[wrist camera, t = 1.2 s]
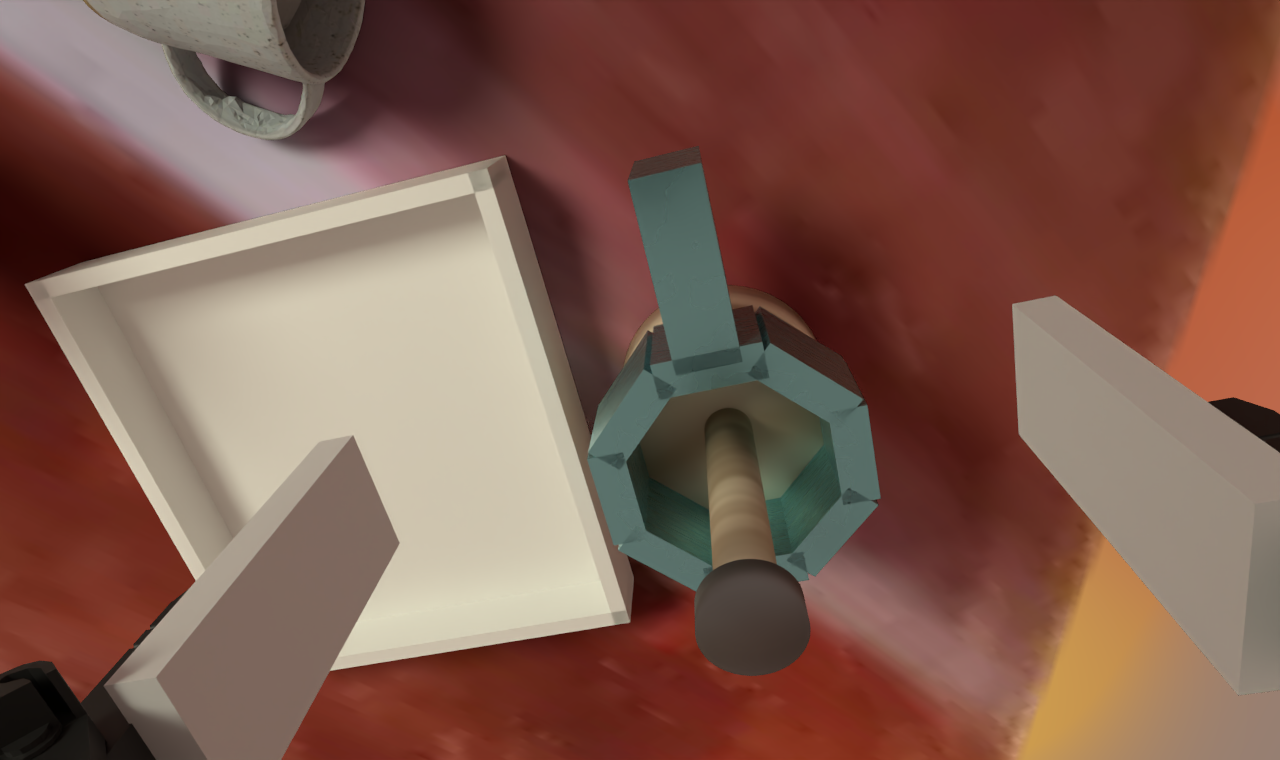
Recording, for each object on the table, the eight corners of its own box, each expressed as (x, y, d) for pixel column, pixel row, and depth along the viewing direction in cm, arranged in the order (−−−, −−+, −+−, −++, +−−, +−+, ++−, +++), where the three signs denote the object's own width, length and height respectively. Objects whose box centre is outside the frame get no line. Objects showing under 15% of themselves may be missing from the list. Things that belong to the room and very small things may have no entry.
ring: (868, 509, 34) (890, 566, 31) (638, 549, 36) (633, 608, 32) (808, 118, 28) (828, 132, 24) (530, 187, 29) (509, 209, 26)
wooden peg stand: (600, 309, 36) (539, 521, 21) (806, 264, 35) (908, 453, 19) (648, 482, 40) (628, 774, 24) (836, 448, 39) (943, 732, 23)
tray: (81, 262, 37) (24, 284, 33) (505, 155, 34) (486, 167, 30) (284, 637, 45) (254, 682, 42) (633, 578, 43) (630, 622, 39)
